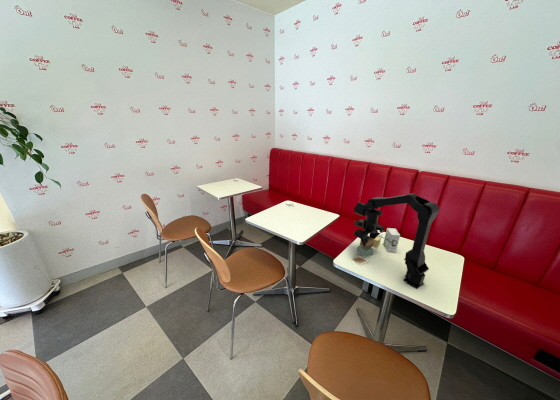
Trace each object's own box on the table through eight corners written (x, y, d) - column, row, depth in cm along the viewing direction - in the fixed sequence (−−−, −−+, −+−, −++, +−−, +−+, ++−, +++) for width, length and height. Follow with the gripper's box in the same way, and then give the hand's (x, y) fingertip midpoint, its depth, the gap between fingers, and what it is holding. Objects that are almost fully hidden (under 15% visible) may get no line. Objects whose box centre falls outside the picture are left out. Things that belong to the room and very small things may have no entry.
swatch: (367, 262, 117) (367, 261, 117) (360, 265, 114) (360, 264, 114) (358, 256, 122) (359, 255, 121) (351, 259, 119) (351, 258, 119)
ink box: (382, 244, 134) (386, 227, 130) (390, 244, 134) (395, 228, 130) (387, 252, 126) (391, 234, 122) (396, 252, 126) (400, 235, 122)
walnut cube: (372, 246, 122) (374, 239, 120) (366, 249, 120) (368, 241, 118) (365, 242, 126) (367, 235, 124) (359, 244, 124) (361, 237, 122)
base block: (372, 255, 123) (373, 249, 122) (364, 257, 121) (365, 251, 120) (364, 249, 128) (365, 243, 127) (357, 251, 126) (358, 245, 125)
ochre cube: (379, 244, 133) (381, 238, 132) (376, 248, 130) (377, 240, 128) (371, 241, 137) (373, 234, 135) (368, 244, 133) (369, 237, 132)
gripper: (370, 211, 128) (366, 234, 133) (348, 217, 119) (344, 241, 125) (387, 218, 119) (381, 242, 124) (364, 225, 110) (359, 251, 116)
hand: (366, 244), depth 122 cm, fingers closed on walnut cube, 5 cm apart
